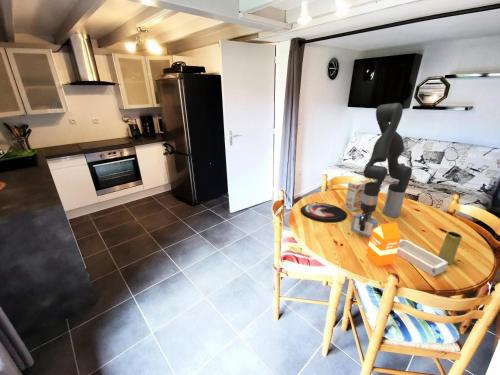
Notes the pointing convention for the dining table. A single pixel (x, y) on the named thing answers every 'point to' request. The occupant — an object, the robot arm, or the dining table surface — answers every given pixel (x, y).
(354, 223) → the pale blue flat slab
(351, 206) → the coffeecake box
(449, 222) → the dining table surface
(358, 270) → the dining table surface
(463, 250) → the dining table surface
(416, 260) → the white rectangular tray
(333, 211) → the wall clock
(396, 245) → the orange juice
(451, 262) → the vase
